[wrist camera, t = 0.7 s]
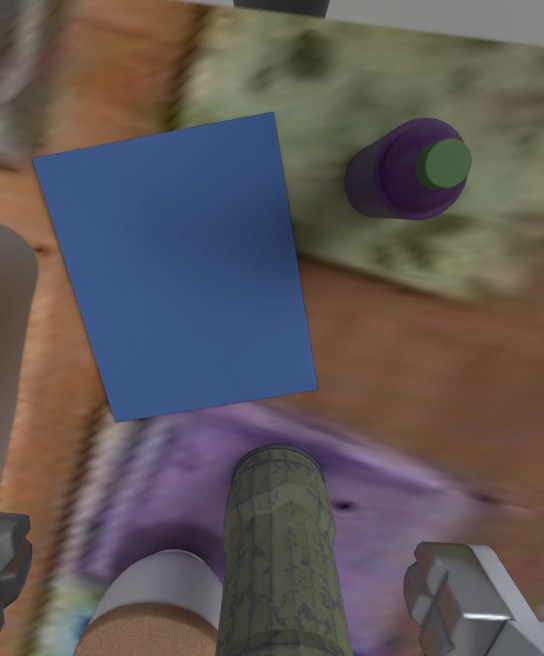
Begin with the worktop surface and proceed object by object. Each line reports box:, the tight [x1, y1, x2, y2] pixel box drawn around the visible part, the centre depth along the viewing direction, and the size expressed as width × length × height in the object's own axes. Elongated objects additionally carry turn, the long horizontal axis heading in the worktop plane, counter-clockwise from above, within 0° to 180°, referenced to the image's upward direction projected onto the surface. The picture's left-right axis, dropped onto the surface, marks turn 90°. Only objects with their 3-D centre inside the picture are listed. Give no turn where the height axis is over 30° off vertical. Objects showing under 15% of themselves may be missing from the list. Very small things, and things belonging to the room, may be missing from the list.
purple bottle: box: [344, 118, 472, 220], centre depth 25 cm, size 5×5×12 cm
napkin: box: [32, 112, 317, 423], centre depth 33 cm, size 22×18×1 cm
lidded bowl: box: [73, 549, 223, 656], centre depth 36 cm, size 13×13×11 cm
